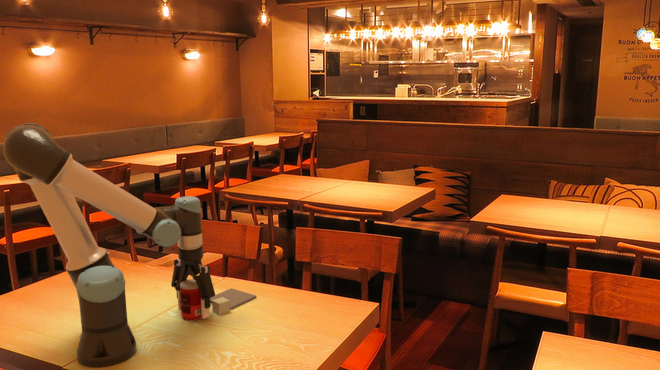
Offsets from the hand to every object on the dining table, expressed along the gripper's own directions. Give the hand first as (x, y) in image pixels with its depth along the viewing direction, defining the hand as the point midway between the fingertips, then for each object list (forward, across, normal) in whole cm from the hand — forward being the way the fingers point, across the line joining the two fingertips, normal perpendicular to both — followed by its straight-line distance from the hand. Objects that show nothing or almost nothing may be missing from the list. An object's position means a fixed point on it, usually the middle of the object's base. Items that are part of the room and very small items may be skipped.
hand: (194, 313), depth 177 cm
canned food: (+1, 0, 0) cm, 1 cm away
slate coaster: (+1, 0, -16) cm, 16 cm away
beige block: (+1, -5, -7) cm, 9 cm away
